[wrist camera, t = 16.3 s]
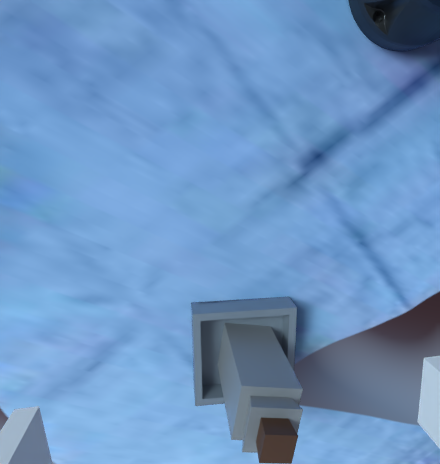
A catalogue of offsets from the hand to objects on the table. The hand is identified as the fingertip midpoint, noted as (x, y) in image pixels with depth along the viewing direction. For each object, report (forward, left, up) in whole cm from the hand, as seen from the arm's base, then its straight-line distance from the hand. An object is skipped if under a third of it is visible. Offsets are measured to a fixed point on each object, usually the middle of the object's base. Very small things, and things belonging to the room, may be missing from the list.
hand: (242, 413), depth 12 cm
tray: (-6, +20, -35) cm, 41 cm away
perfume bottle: (-7, +20, -35) cm, 41 cm away
